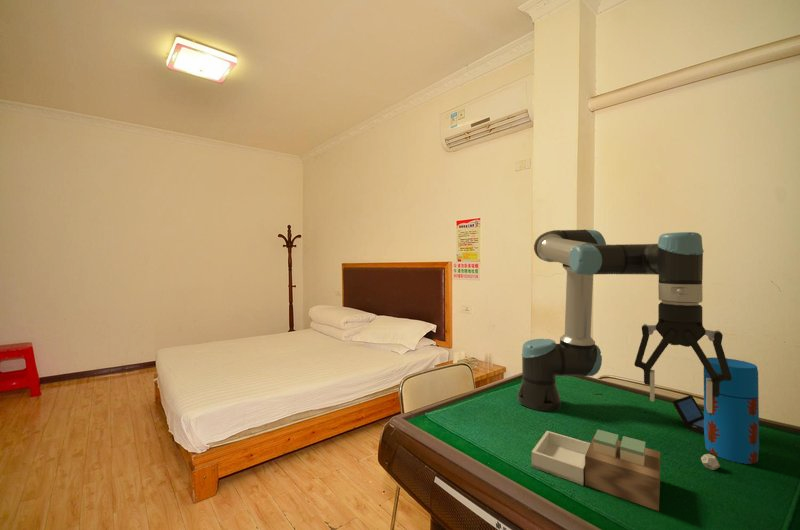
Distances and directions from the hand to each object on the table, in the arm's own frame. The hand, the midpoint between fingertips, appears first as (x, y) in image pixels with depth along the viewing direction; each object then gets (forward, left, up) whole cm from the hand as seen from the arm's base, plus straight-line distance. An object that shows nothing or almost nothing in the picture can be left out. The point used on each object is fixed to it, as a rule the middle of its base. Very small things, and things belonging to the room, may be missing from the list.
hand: (679, 404), depth 76 cm
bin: (-24, 0, -21) cm, 32 cm away
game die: (+6, +21, -22) cm, 31 cm away
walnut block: (-11, 0, -21) cm, 24 cm away
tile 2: (-9, 0, -14) cm, 17 cm away
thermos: (+11, +33, -22) cm, 41 cm away
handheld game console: (+6, +49, -22) cm, 54 cm away
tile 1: (-14, 0, -14) cm, 20 cm away
